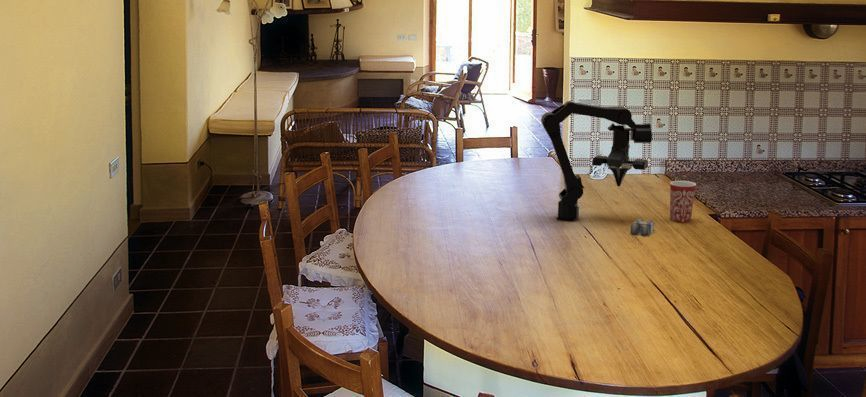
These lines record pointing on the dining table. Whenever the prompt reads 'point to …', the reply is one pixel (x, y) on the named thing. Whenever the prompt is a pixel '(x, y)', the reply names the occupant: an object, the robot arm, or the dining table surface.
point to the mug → (681, 200)
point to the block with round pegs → (644, 224)
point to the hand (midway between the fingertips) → (618, 186)
